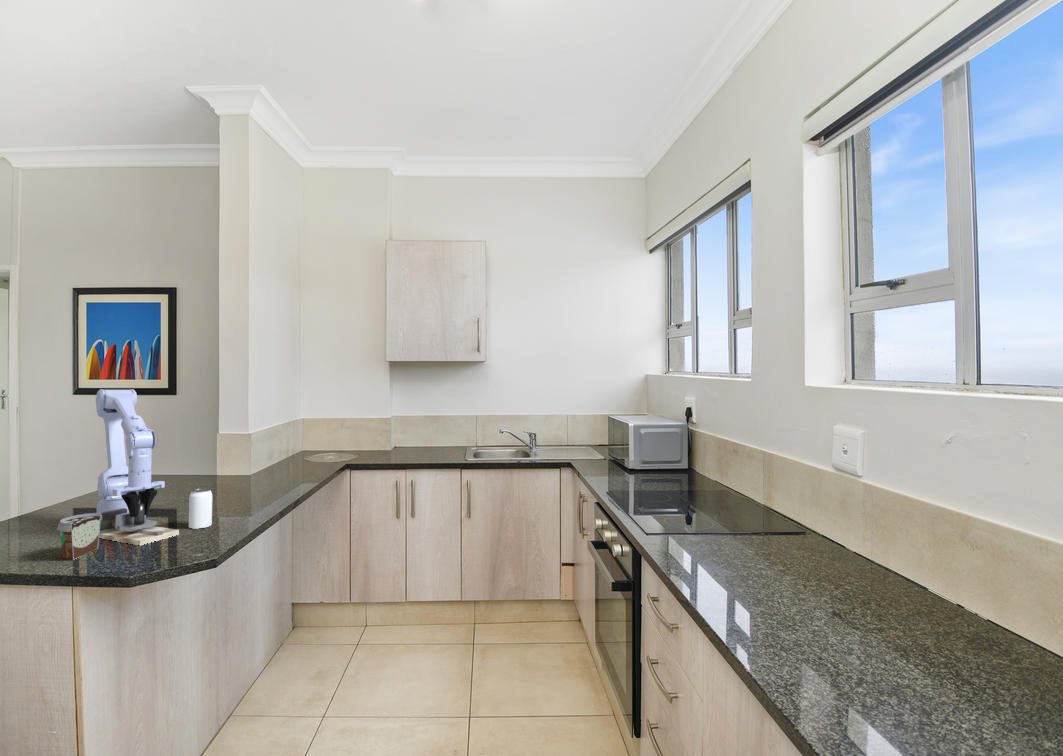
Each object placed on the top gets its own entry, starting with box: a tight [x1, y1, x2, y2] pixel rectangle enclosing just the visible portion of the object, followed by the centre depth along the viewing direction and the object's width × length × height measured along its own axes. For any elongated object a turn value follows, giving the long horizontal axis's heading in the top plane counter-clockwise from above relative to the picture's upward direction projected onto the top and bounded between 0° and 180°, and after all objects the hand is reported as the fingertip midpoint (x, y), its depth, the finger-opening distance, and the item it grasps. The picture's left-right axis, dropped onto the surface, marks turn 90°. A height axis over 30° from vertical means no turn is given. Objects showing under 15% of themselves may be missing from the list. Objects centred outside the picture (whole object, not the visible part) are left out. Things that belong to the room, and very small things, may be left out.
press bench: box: [99, 508, 180, 547], centre depth 167 cm, size 22×12×6 cm, turn 71°
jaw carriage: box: [116, 502, 158, 532], centre depth 167 cm, size 6×8×7 cm
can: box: [188, 487, 213, 530], centre depth 179 cm, size 6×6×12 cm
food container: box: [56, 512, 102, 561], centre depth 149 cm, size 12×6×10 cm, turn 5°
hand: (139, 515), depth 167 cm, fingers closed on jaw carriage, 3 cm apart
